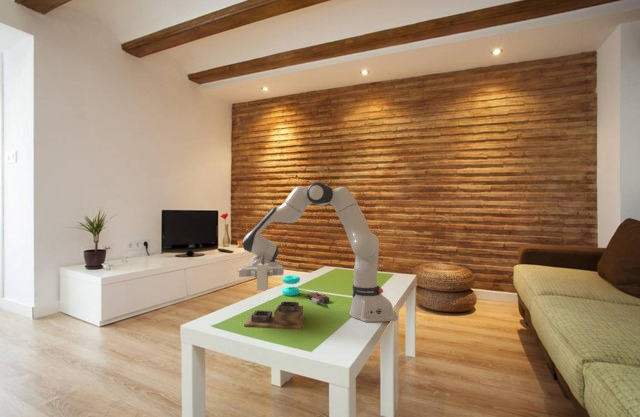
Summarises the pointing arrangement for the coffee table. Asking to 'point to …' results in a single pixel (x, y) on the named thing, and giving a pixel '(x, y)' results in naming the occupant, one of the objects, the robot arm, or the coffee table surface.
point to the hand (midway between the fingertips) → (262, 274)
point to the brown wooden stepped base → (278, 317)
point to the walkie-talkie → (318, 298)
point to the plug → (262, 275)
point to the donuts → (291, 290)
